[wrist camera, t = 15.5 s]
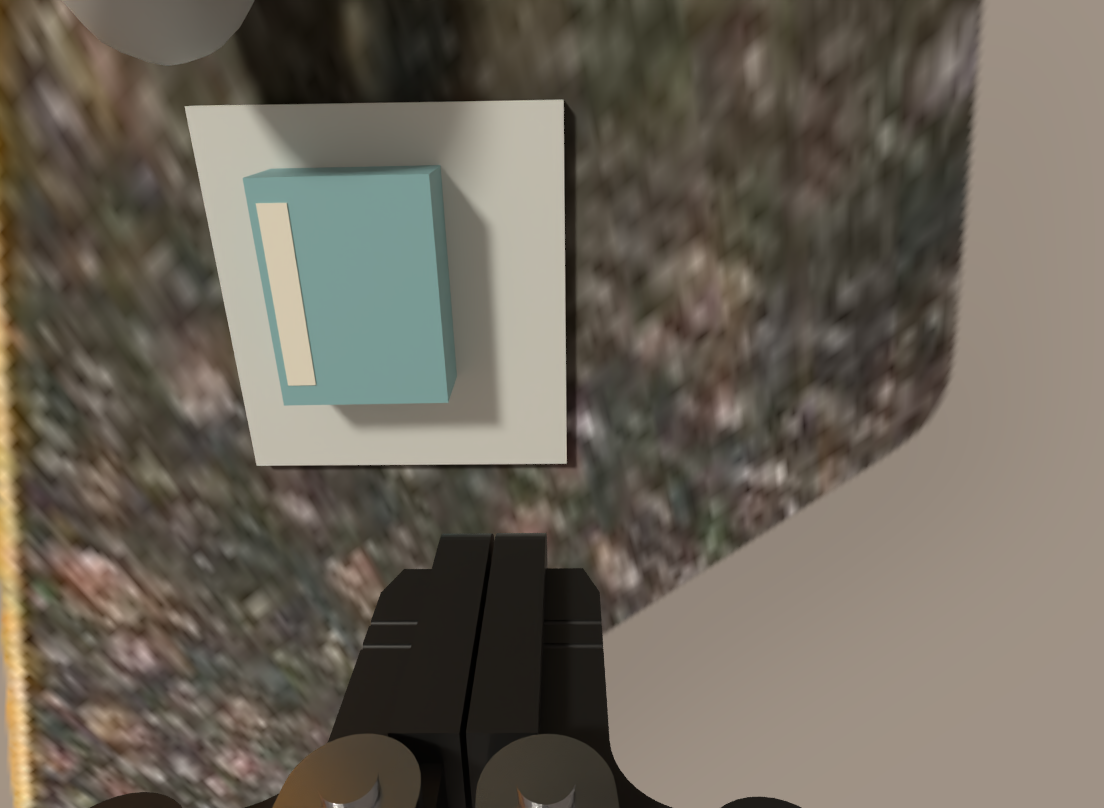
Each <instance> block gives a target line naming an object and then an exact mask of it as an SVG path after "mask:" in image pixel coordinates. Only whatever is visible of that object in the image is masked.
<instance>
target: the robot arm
mask: <svg viewBox="0 0 1104 808" xmlns="http://www.w3.org/2000/svg"><path fill="white" fill-rule="evenodd" d="M90 808H182V807H181V805H180V804H178V803H177V802H176V801H175V800H174V799H172V798H170V797H168V796H166V795H162V794H158V793H150V792H140V793H130V794H126V795H121V796H117V797H114V798H111V799H108V800H106V801H103V802H101V803H99V804H96V805H94V806H92V807H90ZM245 808H672V807H669V806H667V805H664V804H661V803H659V802H657V801H655V800H653V799H652V798H650V797H648V796H646V795H645V794H644V793H642V792H641V791H640V790H638V789H637V788H636V787H635V786H634V785H633V784H631V783H630V782H629V781H628V780H627V778H626V777H625V776H624V774H623V773H622V772H621V771H620V769H619V767H618V765H617V764H616V762H615V760H614V757H613V755H612V752H611V747H610V741H609V727H608V714H607V698H606V682H605V668H604V653H603V637H602V625H601V608H600V593H599V591H598V589H597V588H596V586H595V585H594V583H593V582H592V581H591V579H590V578H589V576H588V575H587V573H586V572H585V571H584V569H583V568H573V569H548V568H547V535H546V533H497V534H496V537H495V541H494V536H493V534H442V535H441V538H440V541H439V545H438V548H437V552H436V556H435V559H434V563H433V567H432V569H404V570H403V571H402V572H401V573H400V574H399V575H398V576H397V577H396V578H395V579H394V580H393V581H392V582H391V583H390V584H389V585H388V586H387V587H386V588H385V589H384V590H383V591H382V592H381V594H380V597H379V600H378V603H377V606H376V608H375V611H374V614H373V617H372V620H371V626H369V628H368V631H367V634H366V637H365V639H364V642H363V650H361V651H360V653H359V656H358V659H357V662H356V665H355V668H354V670H353V673H352V676H351V679H350V682H349V684H348V687H347V690H346V693H345V696H344V699H343V701H342V704H341V707H340V710H339V713H338V715H337V718H336V721H335V724H334V727H333V730H332V732H331V735H330V738H329V741H328V743H326V744H325V745H323V746H321V747H319V748H318V749H316V750H314V751H313V752H312V753H310V754H309V755H308V756H306V757H305V758H304V759H303V760H302V761H301V762H300V763H299V764H298V765H297V766H296V767H295V768H294V770H293V771H292V772H291V773H290V775H289V776H288V778H287V780H286V781H285V783H284V785H283V787H282V789H281V791H280V793H279V794H277V795H275V796H273V797H271V798H269V799H267V800H265V801H263V802H260V803H257V804H254V805H251V806H249V807H245ZM721 808H801V807H799V806H797V805H794V804H792V803H789V802H787V801H783V800H779V799H775V798H767V797H747V798H743V799H738V800H735V801H733V802H730V803H728V804H726V805H724V806H723V807H721Z"/></svg>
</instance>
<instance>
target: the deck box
mask: <svg viewBox="0 0 1104 808" xmlns="http://www.w3.org/2000/svg"><path fill="white" fill-rule="evenodd" d="M243 184H244V189H245V195H246V200H247V206H248V211H249V217H250V222H251V228H252V233H253V239H254V244H255V250H256V255H257V261H258V266H259V271H260V277H261V282H262V288H263V293H264V299H265V304H266V310H267V315H268V321H269V326H270V332H271V337H272V343H273V348H274V354H275V359H276V365H277V370H278V376H279V381H280V387H281V392H282V398H283V403H284V406H289V405H350V404H410V403H448V402H449V399H450V396H451V393H452V390H453V387H454V384H455V381H456V378H457V370H456V358H455V345H454V332H453V319H452V306H451V293H450V280H449V268H448V255H447V242H446V229H445V216H444V203H443V190H442V178H441V165H420V166H372V167H324V168H276V169H268V170H265V171H262V172H259V173H256V174H253V175H250V176H247V177H244V178H243Z"/></svg>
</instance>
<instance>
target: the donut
mask: <svg viewBox="0 0 1104 808" xmlns="http://www.w3.org/2000/svg"><path fill="white" fill-rule="evenodd" d="M62 1H63V2H64V3H65V4H66V6H67V7H68V8H69V9H70V10H71V11H72V12H73V13H74V14H75V16H76V17H77V18H78V19H79V20H80V21H81V22H82V23H83V24H84V26H85V27H86V28H87V29H88V30H89V31H91V32H92V33H93V34H94V35H95V36H96V37H97V38H98V39H99V40H100V41H101V42H102V43H104V44H106V45H108V46H110V47H112V48H114V49H116V50H118V51H120V52H122V53H125V54H128V55H130V56H133V57H136V58H138V59H141V60H144V61H147V62H149V63H155V64H161V65H166V66H170V65H176V64H182V63H187V62H190V61H193V60H196V59H199V58H202V57H205V56H208V55H210V54H211V53H213V52H214V51H216V50H218V49H219V48H221V47H222V46H223V45H224V44H225V43H226V42H227V40H228V39H229V38H230V37H231V36H232V35H233V34H234V33H235V32H236V31H237V30H238V29H239V28H240V26H241V25H242V23H243V21H244V19H245V18H246V16H247V14H248V12H249V10H250V8H251V6H252V4H253V3H254V1H255V0H62Z"/></svg>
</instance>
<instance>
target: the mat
mask: <svg viewBox="0 0 1104 808" xmlns="http://www.w3.org/2000/svg"><path fill="white" fill-rule="evenodd" d="M185 110H186V115H187V120H188V125H189V130H190V135H191V140H192V145H193V150H194V155H195V160H196V165H197V170H198V175H199V180H200V185H201V190H202V195H203V200H204V205H205V210H206V215H207V220H208V225H209V230H210V235H211V240H212V245H213V250H214V255H215V260H216V265H217V270H218V275H219V280H220V285H221V290H222V295H223V300H224V305H225V310H226V315H227V319H228V324H229V329H230V334H231V339H232V344H233V349H234V354H235V359H236V364H237V369H238V374H239V379H240V384H241V389H242V394H243V399H244V404H245V409H246V414H247V419H248V424H249V429H250V434H251V439H252V444H253V449H254V454H255V459H256V464H257V466H285V465H442V464H567V428H566V314H565V199H564V100H511V101H451V102H390V103H330V104H270V105H209V106H185ZM420 165H441V178H442V190H443V203H444V216H445V229H446V242H447V255H448V268H449V280H450V293H451V306H452V319H453V332H454V345H455V358H456V370H457V378H456V381H455V384H454V387H453V390H452V393H451V396H450V399H449V402H448V403H410V404H350V405H289V406H284V403H283V398H282V392H281V387H280V381H279V376H278V370H277V365H276V359H275V354H274V348H273V343H272V337H271V332H270V326H269V321H268V315H267V310H266V304H265V299H264V293H263V288H262V282H261V277H260V271H259V266H258V261H257V255H256V250H255V244H254V239H253V233H252V228H251V222H250V217H249V211H248V206H247V200H246V195H245V189H244V184H243V178H244V177H247V176H250V175H253V174H256V173H259V172H262V171H265V170H268V169H276V168H324V167H372V166H420Z"/></svg>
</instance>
